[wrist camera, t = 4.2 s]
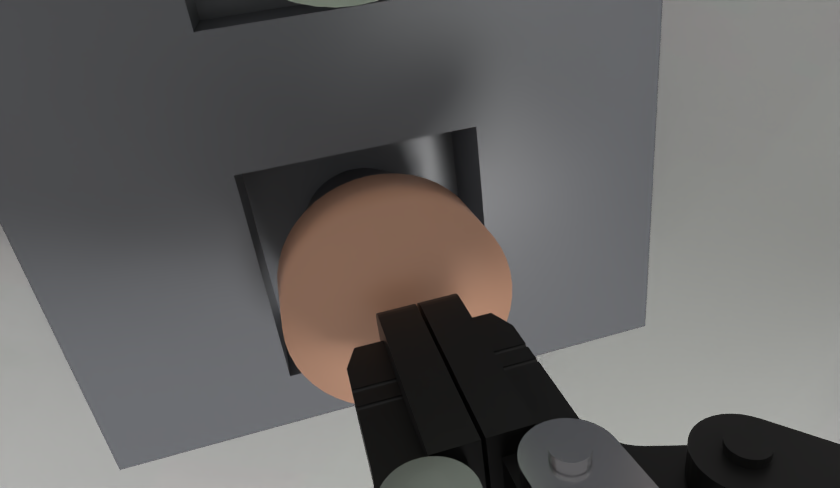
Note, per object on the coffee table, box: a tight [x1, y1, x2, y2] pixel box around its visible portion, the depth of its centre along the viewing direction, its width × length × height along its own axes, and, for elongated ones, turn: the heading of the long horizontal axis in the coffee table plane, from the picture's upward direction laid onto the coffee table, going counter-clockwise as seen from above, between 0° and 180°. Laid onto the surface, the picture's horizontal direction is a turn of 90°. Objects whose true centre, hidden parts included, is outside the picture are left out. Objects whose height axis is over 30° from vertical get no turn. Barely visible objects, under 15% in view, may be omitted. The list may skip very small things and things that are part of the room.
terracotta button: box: [277, 168, 512, 404], centre depth 14 cm, size 5×5×4 cm
